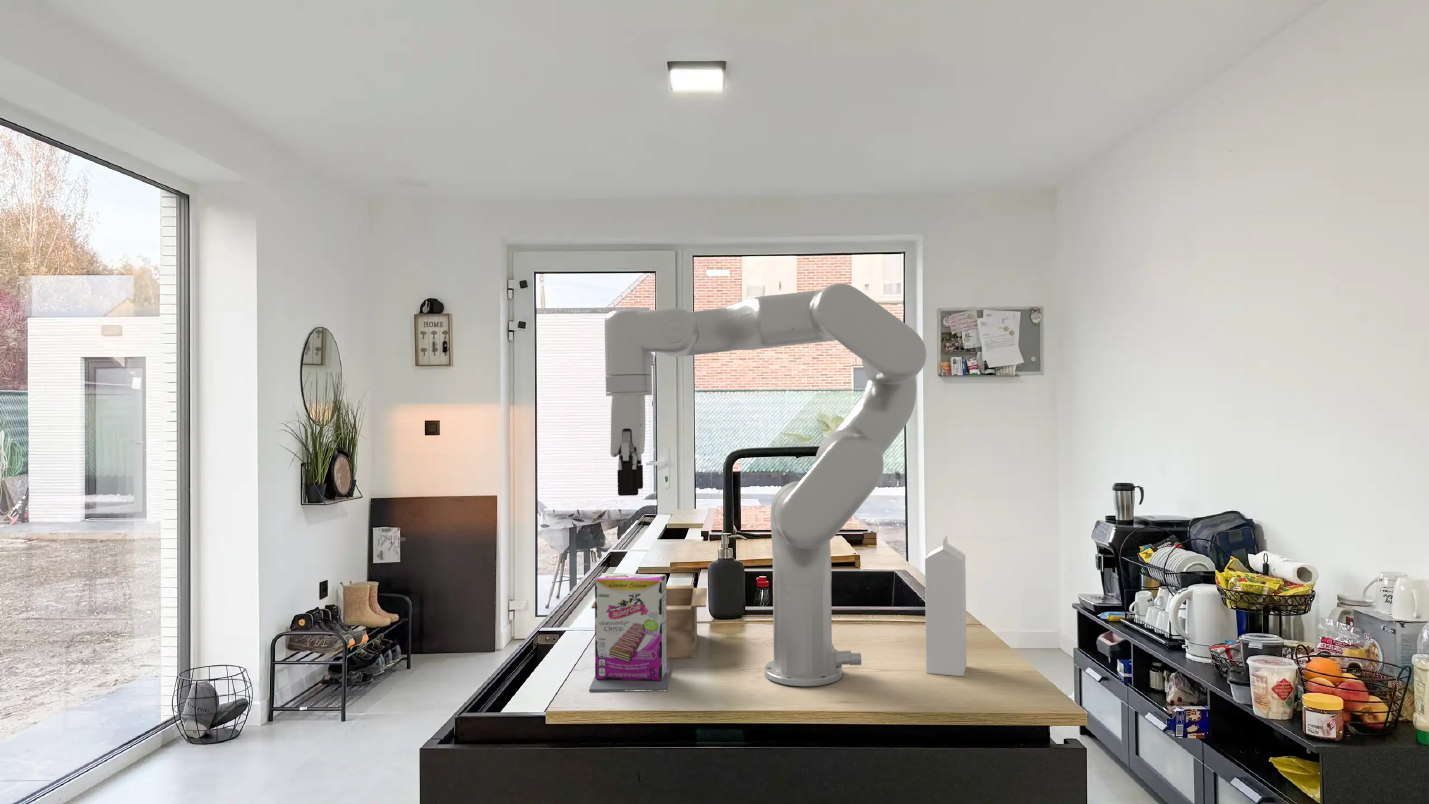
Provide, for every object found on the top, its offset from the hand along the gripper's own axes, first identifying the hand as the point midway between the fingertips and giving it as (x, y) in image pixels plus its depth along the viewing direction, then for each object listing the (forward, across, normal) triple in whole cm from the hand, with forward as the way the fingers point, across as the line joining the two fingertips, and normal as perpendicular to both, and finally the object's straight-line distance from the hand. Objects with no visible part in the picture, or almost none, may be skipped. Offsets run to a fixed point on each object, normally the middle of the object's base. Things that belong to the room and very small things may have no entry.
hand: (630, 492), depth 143 cm
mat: (+30, 0, 0) cm, 30 cm away
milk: (+31, -2, +52) cm, 60 cm away
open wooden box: (+30, -19, +2) cm, 36 cm away
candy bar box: (+30, 0, 0) cm, 30 cm away
